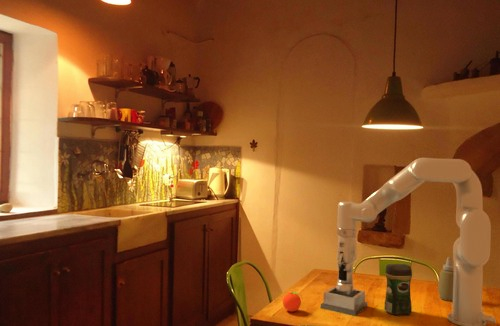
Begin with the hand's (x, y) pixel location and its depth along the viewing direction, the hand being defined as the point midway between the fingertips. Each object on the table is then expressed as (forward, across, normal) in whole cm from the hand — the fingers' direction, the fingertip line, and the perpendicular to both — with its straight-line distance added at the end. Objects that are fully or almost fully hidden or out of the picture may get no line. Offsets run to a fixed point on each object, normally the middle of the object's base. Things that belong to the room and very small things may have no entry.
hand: (345, 278), depth 167 cm
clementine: (+12, -17, +14) cm, 25 cm away
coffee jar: (+12, +7, -19) cm, 23 cm away
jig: (+11, 0, 0) cm, 11 cm away
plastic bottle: (+7, 0, 0) cm, 7 cm away
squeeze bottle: (+12, +39, -32) cm, 52 cm away
